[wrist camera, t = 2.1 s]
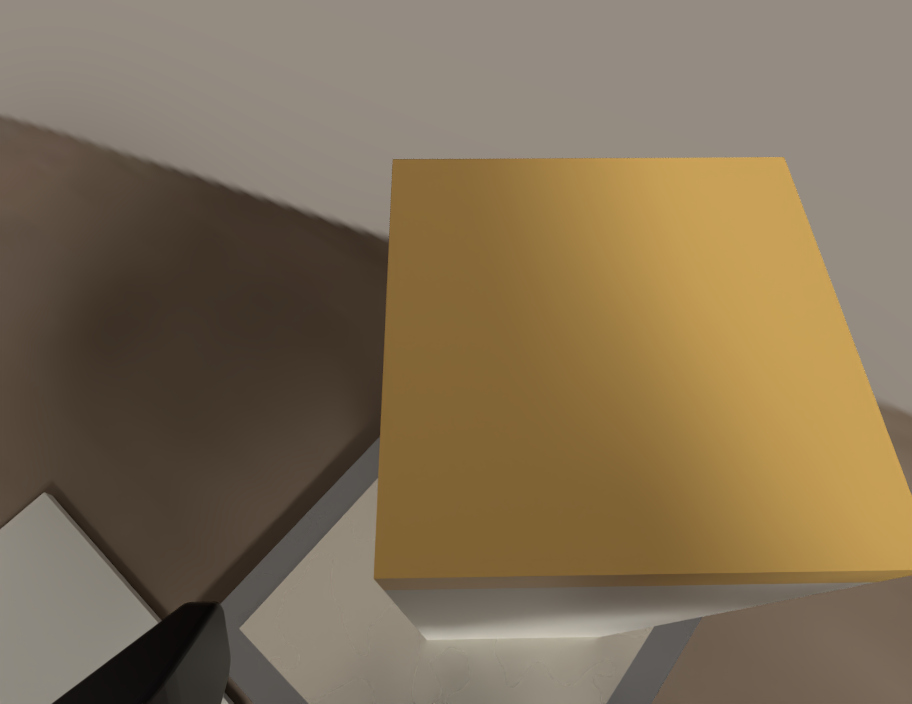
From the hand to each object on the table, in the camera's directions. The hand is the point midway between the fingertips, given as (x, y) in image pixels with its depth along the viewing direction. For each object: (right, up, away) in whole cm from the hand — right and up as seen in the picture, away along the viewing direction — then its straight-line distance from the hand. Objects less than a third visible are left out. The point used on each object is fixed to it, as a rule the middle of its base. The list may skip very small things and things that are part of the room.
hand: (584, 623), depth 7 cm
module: (0, -2, +9) cm, 9 cm away
